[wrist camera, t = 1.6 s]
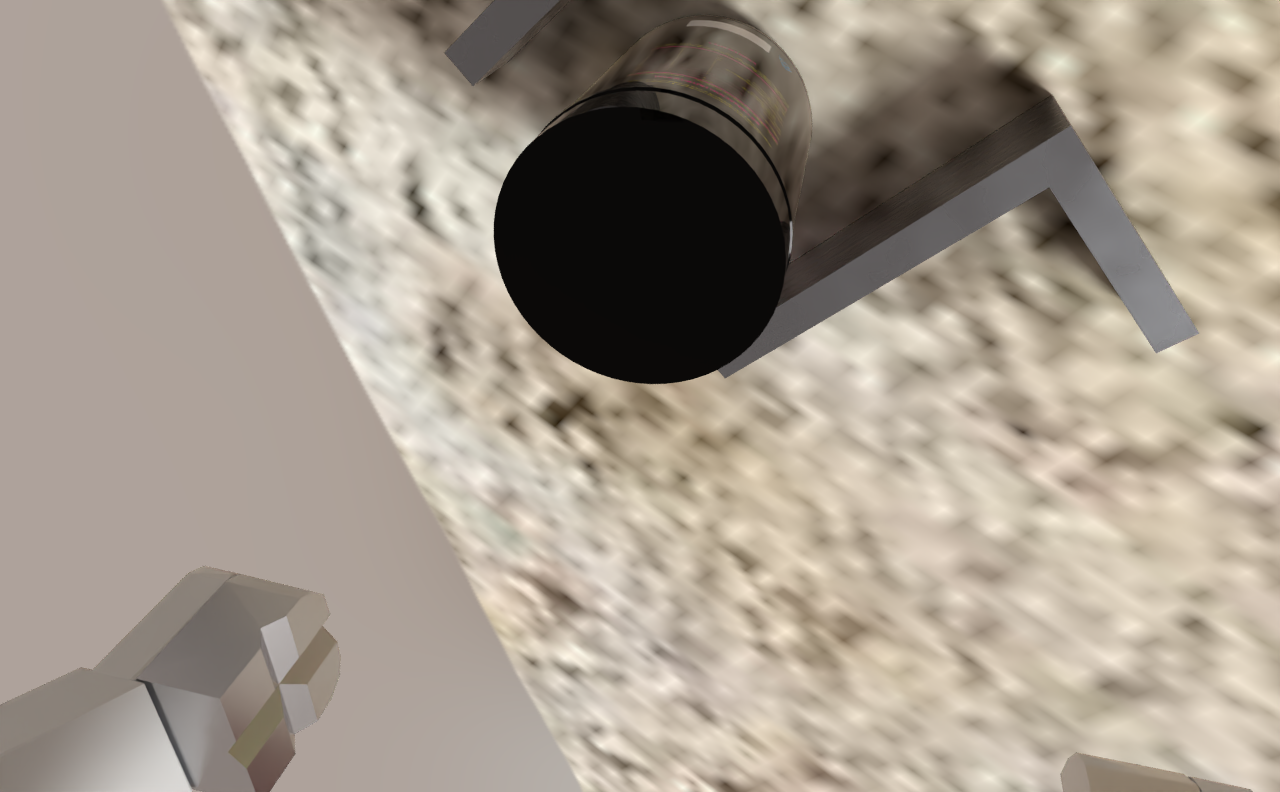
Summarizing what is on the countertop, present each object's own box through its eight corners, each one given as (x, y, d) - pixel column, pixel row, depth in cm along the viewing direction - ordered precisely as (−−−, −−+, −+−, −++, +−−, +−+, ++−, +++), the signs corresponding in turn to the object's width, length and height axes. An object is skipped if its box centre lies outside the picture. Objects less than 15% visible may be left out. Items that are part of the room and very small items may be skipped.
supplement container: (596, 198, 30) (487, 350, 22) (618, -11, 26) (496, 75, 18) (788, 239, 30) (752, 413, 21) (840, 31, 26) (821, 142, 17)
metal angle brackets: (481, 31, 28) (444, 52, 26) (1381, -899, 15) (1474, -1029, 13) (835, 452, 34) (832, 502, 31) (1691, 30, 21) (1794, 59, 19)
